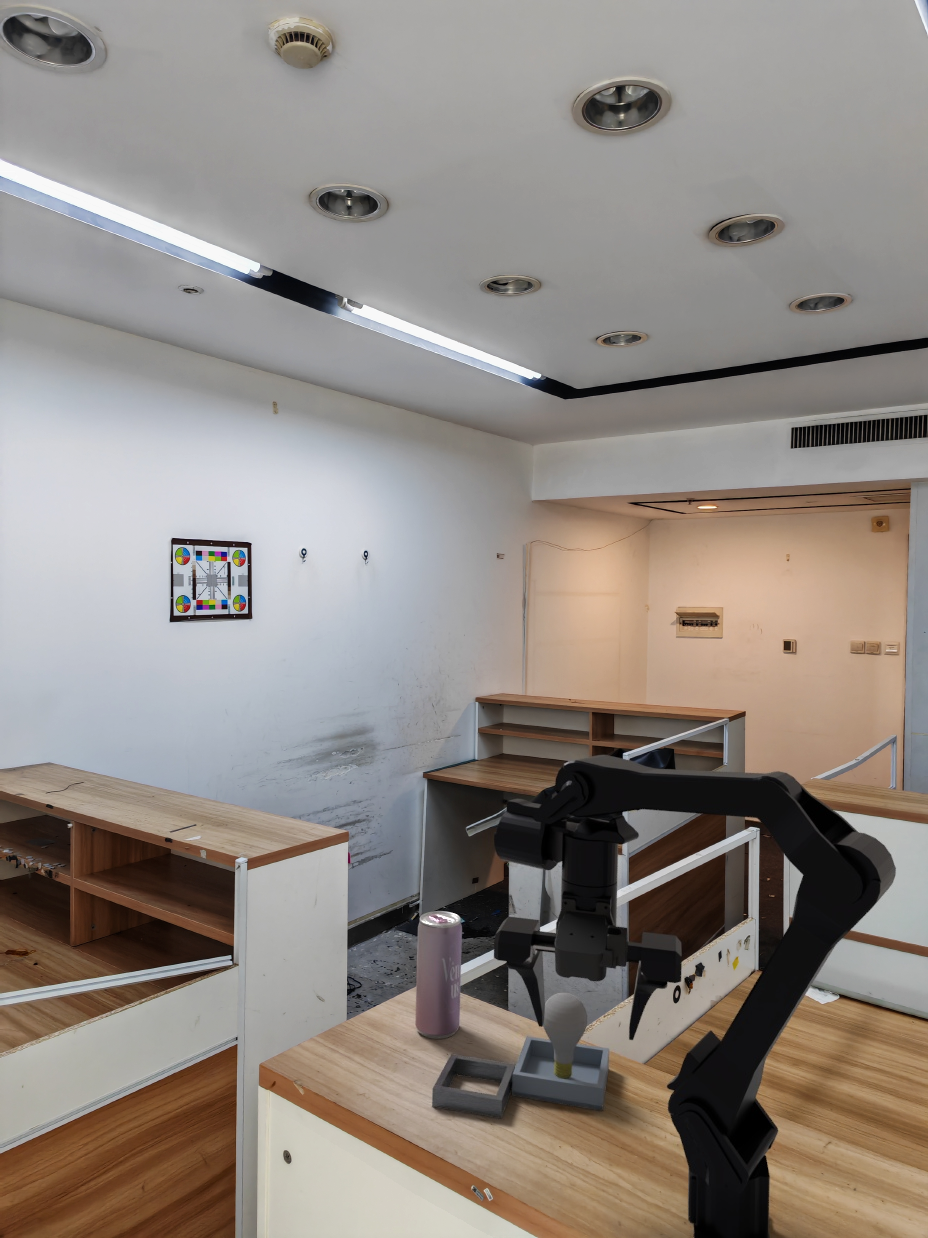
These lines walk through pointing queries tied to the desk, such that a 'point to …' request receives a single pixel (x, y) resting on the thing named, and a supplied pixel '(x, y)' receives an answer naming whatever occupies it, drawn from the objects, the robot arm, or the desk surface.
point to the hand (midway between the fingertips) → (585, 1031)
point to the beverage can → (438, 974)
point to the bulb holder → (469, 1099)
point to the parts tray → (542, 1084)
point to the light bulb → (564, 1029)
